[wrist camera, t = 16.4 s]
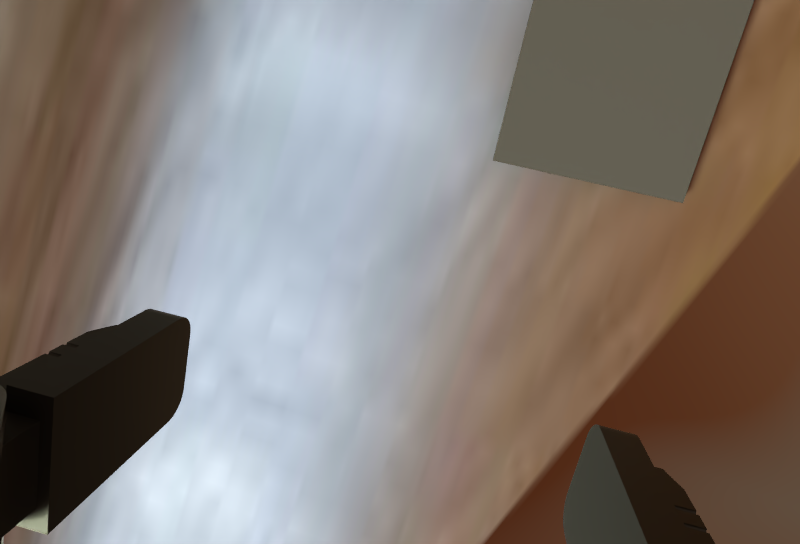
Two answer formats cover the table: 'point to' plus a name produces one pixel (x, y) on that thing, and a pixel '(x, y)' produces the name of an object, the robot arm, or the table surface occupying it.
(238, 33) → the table surface
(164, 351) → the robot arm
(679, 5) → the pin board
